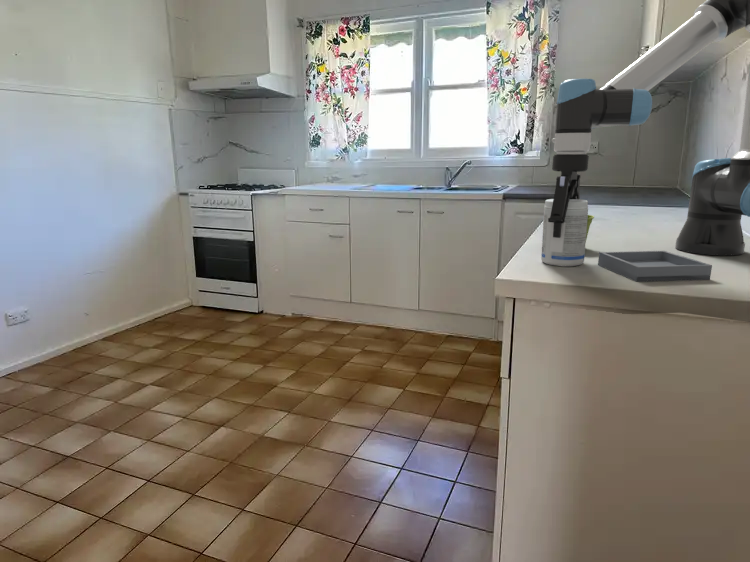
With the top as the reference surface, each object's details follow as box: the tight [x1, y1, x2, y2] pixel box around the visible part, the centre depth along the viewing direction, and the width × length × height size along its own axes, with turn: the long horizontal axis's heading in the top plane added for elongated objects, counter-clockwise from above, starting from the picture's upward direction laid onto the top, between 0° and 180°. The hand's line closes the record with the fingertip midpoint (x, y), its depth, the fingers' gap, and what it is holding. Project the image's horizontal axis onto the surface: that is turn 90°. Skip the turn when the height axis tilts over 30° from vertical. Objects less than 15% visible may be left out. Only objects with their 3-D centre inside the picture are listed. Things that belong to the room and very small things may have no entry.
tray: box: [597, 250, 713, 283], centre depth 111 cm, size 16×16×3 cm
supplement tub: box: [540, 198, 589, 267], centre depth 119 cm, size 10×10×15 cm
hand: (562, 247), depth 120 cm, fingers open, 13 cm apart
